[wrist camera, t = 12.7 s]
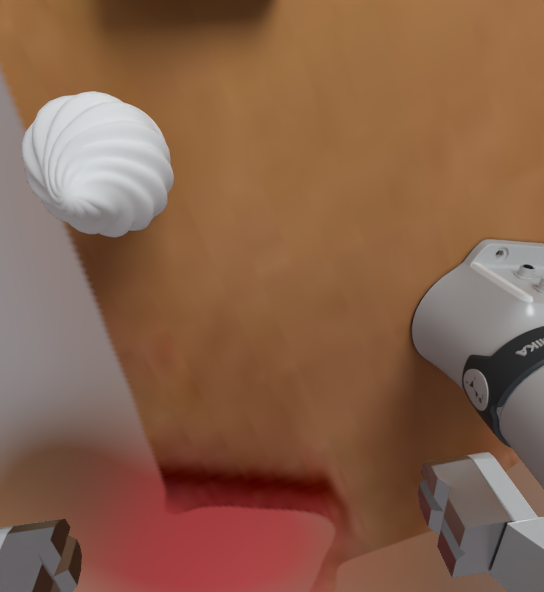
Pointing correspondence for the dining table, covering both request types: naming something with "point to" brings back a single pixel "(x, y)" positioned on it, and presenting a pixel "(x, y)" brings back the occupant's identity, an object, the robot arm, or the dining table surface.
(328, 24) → the dining table surface
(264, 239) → the dining table surface
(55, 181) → the soft serve ice cream cone
